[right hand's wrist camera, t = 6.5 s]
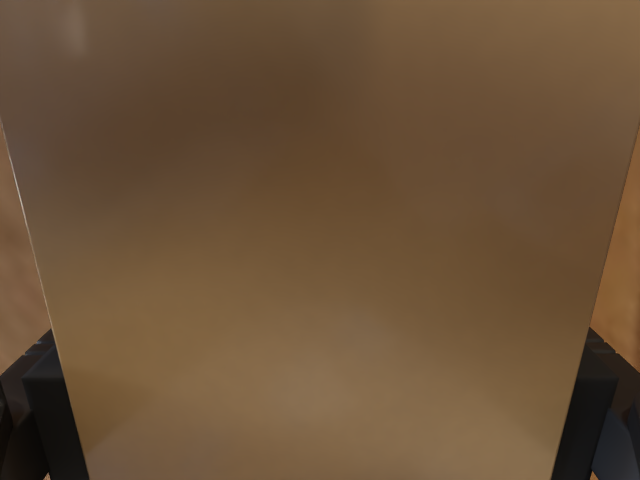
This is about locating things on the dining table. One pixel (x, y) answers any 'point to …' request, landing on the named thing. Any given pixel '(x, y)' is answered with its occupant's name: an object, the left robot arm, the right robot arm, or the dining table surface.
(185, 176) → the wide beam
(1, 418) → the right robot arm
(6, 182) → the dining table surface
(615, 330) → the dining table surface
